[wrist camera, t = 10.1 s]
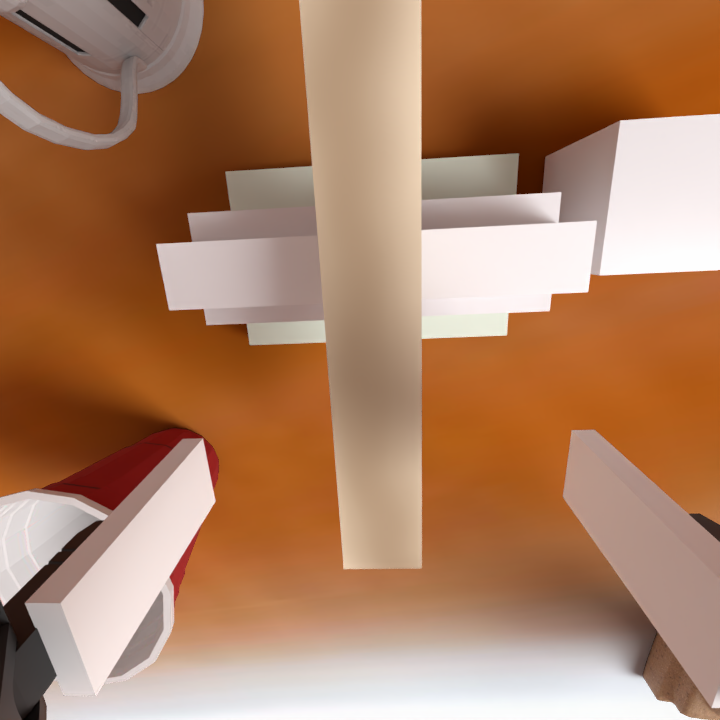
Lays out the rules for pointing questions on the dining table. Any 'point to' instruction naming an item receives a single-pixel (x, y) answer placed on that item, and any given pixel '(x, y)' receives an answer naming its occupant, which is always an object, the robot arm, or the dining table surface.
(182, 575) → the plastic cup
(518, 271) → the ridge stand
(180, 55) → the glass holder
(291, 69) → the dining table surface
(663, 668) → the candle holder
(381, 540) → the birch batten
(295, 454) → the dining table surface
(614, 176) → the rest block
